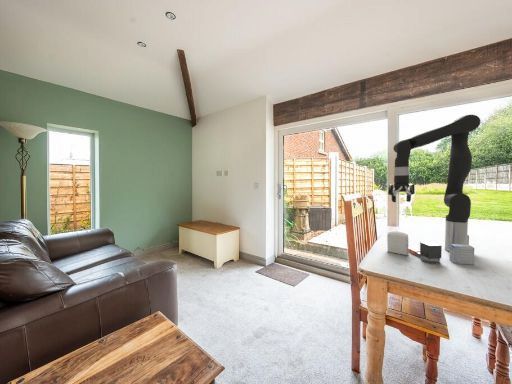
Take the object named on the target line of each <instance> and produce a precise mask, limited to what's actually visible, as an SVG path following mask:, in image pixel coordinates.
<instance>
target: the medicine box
mask: <svg viewBox="0 0 512 384" xmlns="http://www.w3.org/2000/svg"><path fill="white" fill-rule="evenodd" d="M448 260H449V261H450V262H451V263H453V264H460V265H461V264H462V265H475V247H474V246H472V245H470V244H469V245H460V244H450V251H449V259H448Z"/></svg>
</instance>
